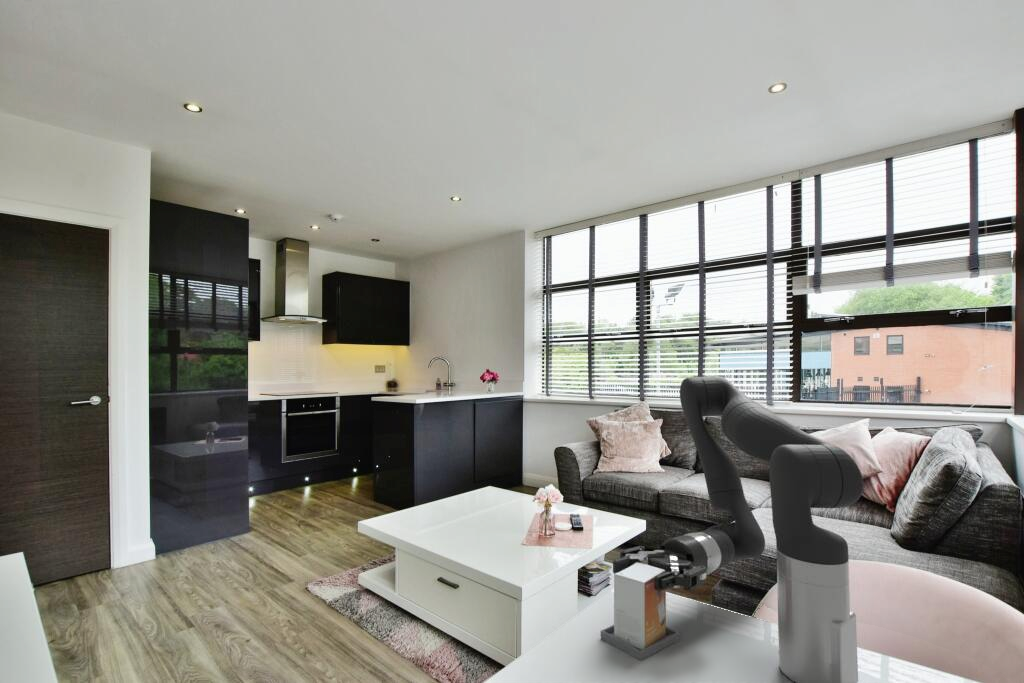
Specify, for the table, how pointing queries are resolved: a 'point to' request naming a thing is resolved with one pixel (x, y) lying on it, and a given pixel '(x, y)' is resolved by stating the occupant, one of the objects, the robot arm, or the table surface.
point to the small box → (639, 606)
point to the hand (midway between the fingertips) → (634, 575)
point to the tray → (661, 643)
